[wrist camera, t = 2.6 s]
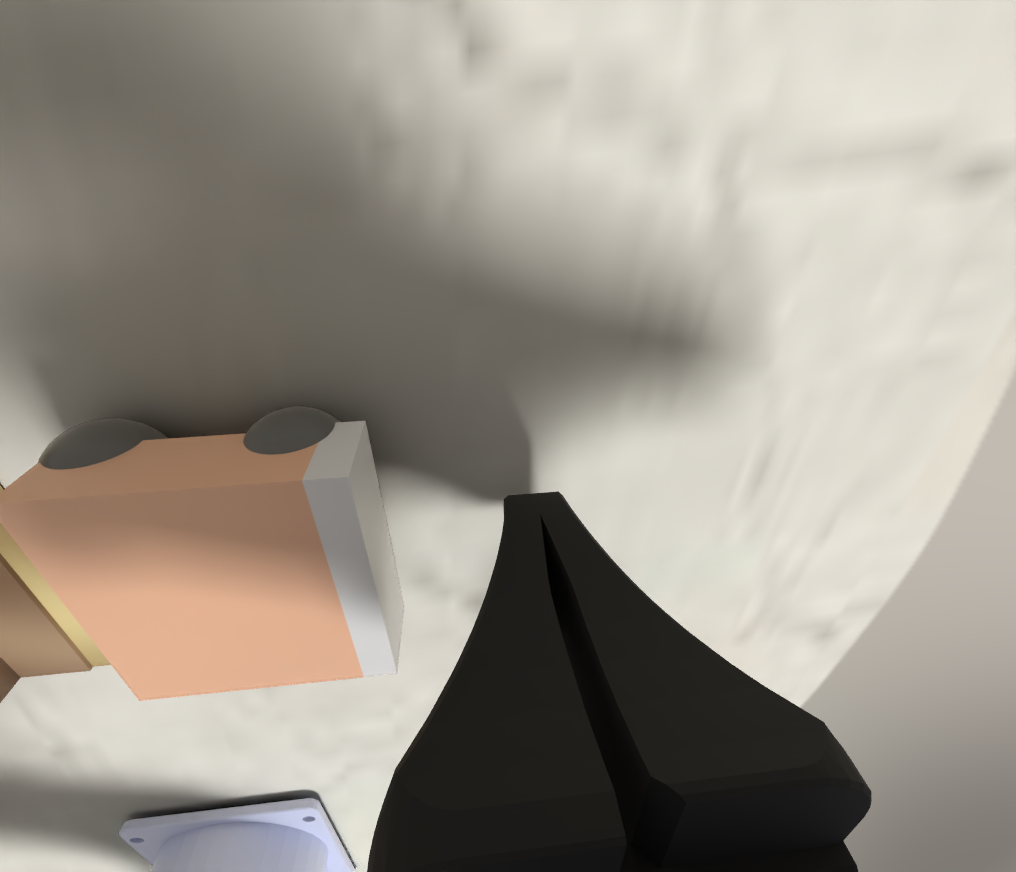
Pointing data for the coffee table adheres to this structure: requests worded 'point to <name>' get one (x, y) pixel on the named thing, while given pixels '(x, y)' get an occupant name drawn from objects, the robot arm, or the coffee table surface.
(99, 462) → the trolley
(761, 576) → the coffee table surface
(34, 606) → the tray
